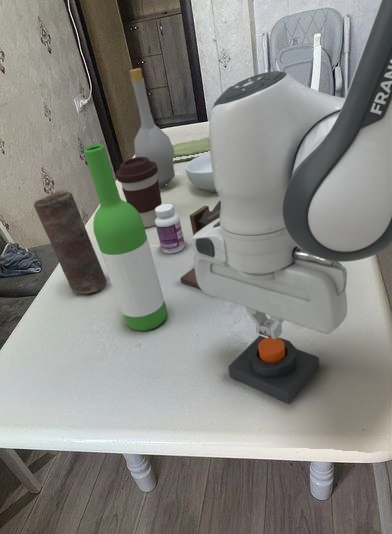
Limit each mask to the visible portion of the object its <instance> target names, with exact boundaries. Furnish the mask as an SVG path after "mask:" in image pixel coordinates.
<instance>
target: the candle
mask: <svg viewBox="0 0 392 534" xmlns="http://www.w3.org/2000/svg"><path fill="white" fill-rule="evenodd" d="M33 207H34V208H33V209H34V210H35V212H36V214H37V217H38V218H39V220H40V221H39V222H40V223H41V225H42V227H43V229H44V231H45V234H46V236H47V238H48V240H49V242H50V244H51V247H52V249H53V252H54V253H55V256H56V258H57V260H58V263H59V265H60V267H61V269H62V271H63V274H64V276H65V278H66V281H67V283H68V285H69V287H70V289H71V291H73V292H76V293H79V294H90V293H98V292H101V291H102V290H104V288H105V287H106V284H107V278H106V276H105V272H104V271H103V268H102V266H101V263H100V261H99V258H98V255H97V252H96V251H95V248H94V246H93V243H92V241H91V239H90V236H89V233H88V230H87V228H86V226H85V223H84V220H83V218H82V216H81V214H80V211H79V208H78V205H77V203H76V201H75V199H74V196H73V193H72V192H70V191H68V190H67V189H58V190H56V191H55V192H54V193H52V194H51V193H50V194H49V195H46V196H45V197H42V198H40V199H37V200H35V201H34V202H33Z"/></svg>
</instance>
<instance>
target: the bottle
mask: <svg viewBox="0 0 392 534" xmlns="http://www.w3.org/2000/svg"><path fill="white" fill-rule="evenodd" d="M129 74H130V77H131V79H130V82H131V85H132V88H133V91H134V95H135V99H136V104H137V108H138V112H139V118H140V119H139V120H140V125H141V126H140V127H139V130H138V132H136V133H137V134H136V135H135V137H134V139H133V145H134V158H136V157H147V158H148V159H149V160H150V161H152V162H155V163H156V164H157V168H158V172H157V173H156V176H157V179H158V182H159V189H163V188H165V187H166V186H168V185H169V184H170V183H171V182H172V180H173V179H174V178H175V177H176V174H175V173H176V172H175V168H174V163H173V157H174V149H173V146H172V145H173V144H172V142H171V139H170V137H169V136H168V135H167V133H165V132H164V131H163V130H162V129H161V128H160V127H158V126H157V125H156V124H155V121H154V118H153V115H152V112H151V107H150V103H149V98H148V94H147V89H146V84H145V79H144V78H145V77H143V73H142V68H141V67H138V68H134V69H130V70H129ZM166 184H167V185H166Z"/></svg>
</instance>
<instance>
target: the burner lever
mask: <svg viewBox="0 0 392 534" xmlns="http://www.w3.org/2000/svg"><path fill="white" fill-rule="evenodd" d="M220 209H221V202H220V200H219V201H218V202H217V203H216V205H215V206H214V208H213V209H212V210H209V211H207V210H206V211H205V213H204V214H203V215H202V217H201V218H200V219H199V221H198V223H199V224H200V226H201V228H204V227H205V226H207V221H206V219H207V218H208V217H210V216H211V215H213V214H214V213H215V212H217V211H218V210H220Z"/></svg>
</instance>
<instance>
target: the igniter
mask: <svg viewBox="0 0 392 534" xmlns="http://www.w3.org/2000/svg"><path fill="white" fill-rule="evenodd" d="M279 338H280V337H278V338H277V339H272V338H270V337H266V338H265V339H263V340H262V341H261V342H260V343H259V345H258V349H259V357H260V359H261V360H262V361H264V362H266V363H276V362H279V361H281V360H283V358H284V357H285V344H284V342H283V341H282V340H281V339H279Z"/></svg>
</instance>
